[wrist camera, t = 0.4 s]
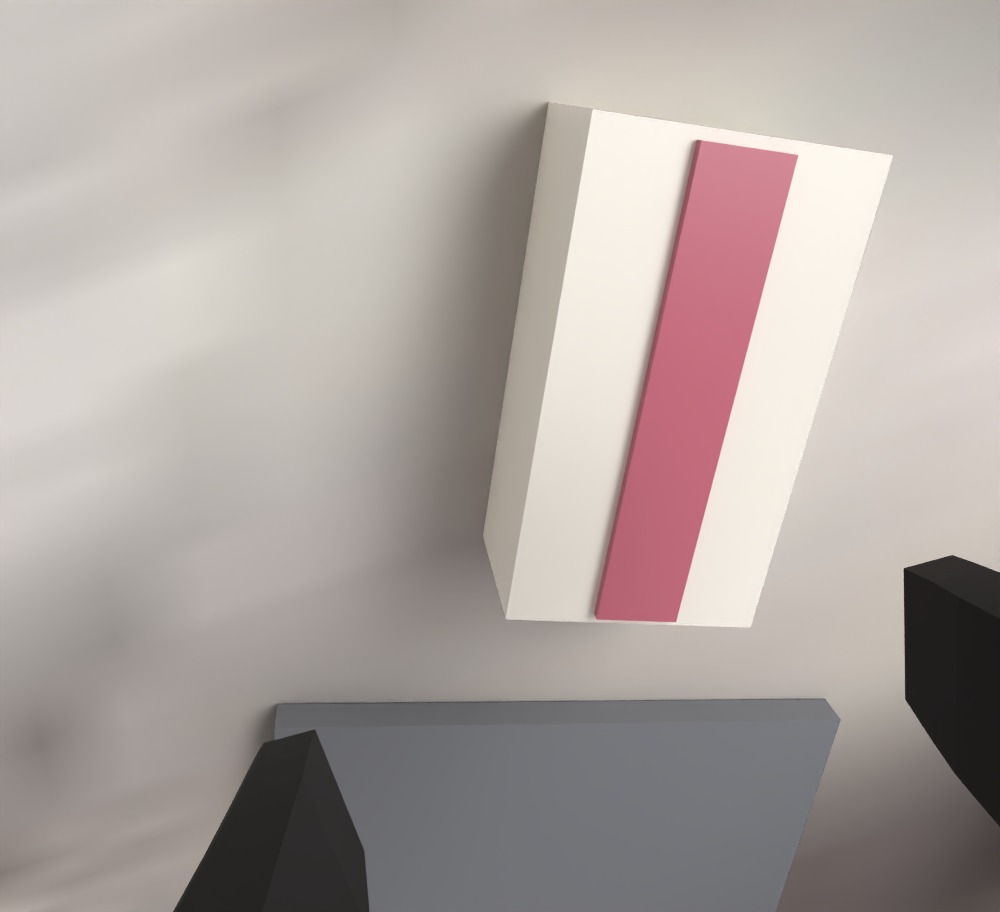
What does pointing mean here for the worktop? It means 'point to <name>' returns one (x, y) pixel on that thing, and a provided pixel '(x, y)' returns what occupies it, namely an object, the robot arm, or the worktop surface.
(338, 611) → the worktop surface
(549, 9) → the worktop surface
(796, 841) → the mat
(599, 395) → the card deck
